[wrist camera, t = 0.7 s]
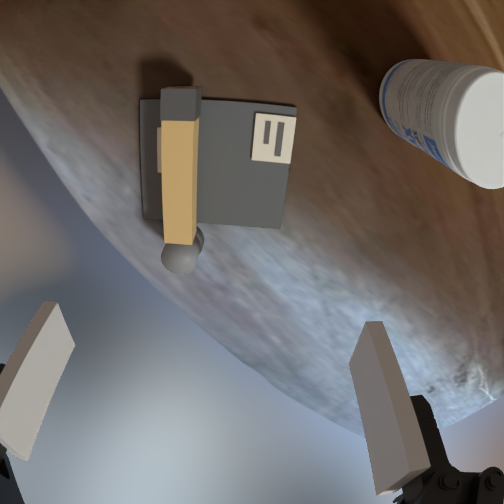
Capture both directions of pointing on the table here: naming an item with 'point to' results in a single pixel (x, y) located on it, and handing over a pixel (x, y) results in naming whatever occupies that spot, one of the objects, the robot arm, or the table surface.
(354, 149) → the table surface
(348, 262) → the table surface
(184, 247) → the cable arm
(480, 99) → the supplement tub
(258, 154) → the label
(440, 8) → the table surface
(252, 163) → the mat
